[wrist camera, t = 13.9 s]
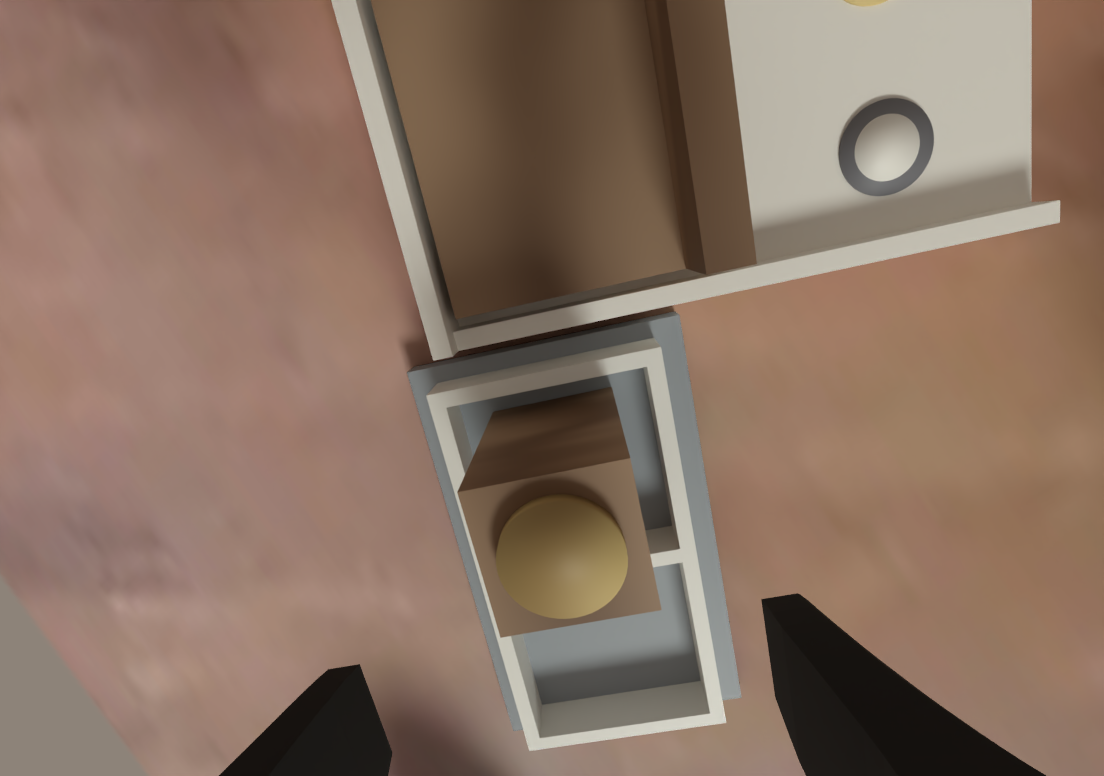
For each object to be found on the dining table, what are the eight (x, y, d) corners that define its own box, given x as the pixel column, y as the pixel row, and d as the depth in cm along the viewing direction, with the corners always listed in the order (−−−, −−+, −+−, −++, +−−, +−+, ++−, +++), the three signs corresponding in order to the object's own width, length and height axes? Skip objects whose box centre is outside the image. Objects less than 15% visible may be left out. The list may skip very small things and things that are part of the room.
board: (1007, -209, 14) (1098, -302, 12) (1010, 223, 17) (1085, 222, 15) (352, -23, 16) (310, -71, 14) (451, 343, 19) (433, 361, 16)
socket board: (674, 311, 18) (688, 321, 16) (735, 681, 22) (753, 731, 20) (413, 367, 19) (392, 384, 17) (515, 714, 23) (509, 765, 21)
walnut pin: (611, 387, 18) (632, 465, 12) (634, 496, 19) (664, 620, 13) (493, 411, 18) (453, 500, 12) (521, 518, 19) (498, 649, 13)
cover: (669, -88, 15) (700, -192, 11) (717, 257, 17) (757, 263, 13) (379, -7, 15) (320, -81, 12) (463, 313, 18) (435, 333, 14)
